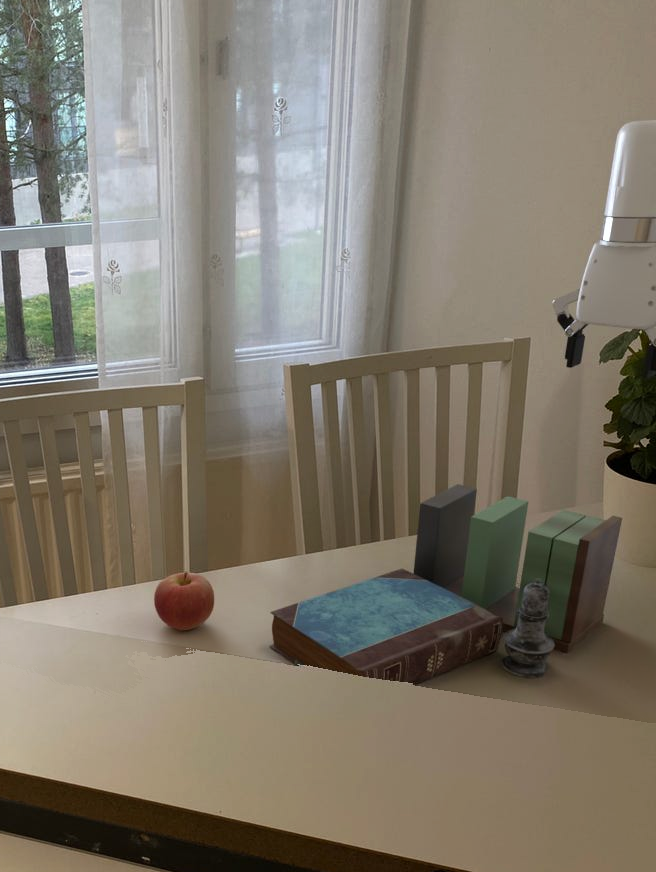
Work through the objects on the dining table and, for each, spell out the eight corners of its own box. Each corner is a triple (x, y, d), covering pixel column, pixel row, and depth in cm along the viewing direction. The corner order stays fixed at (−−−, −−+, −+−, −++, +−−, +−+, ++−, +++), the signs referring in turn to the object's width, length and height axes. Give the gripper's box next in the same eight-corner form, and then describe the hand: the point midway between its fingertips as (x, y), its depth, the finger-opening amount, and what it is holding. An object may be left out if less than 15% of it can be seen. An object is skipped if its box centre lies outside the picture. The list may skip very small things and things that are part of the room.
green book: (495, 582, 129) (507, 496, 124) (515, 588, 127) (528, 501, 122) (459, 606, 123) (471, 516, 117) (480, 613, 121) (492, 522, 115)
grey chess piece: (528, 650, 114) (543, 563, 109) (560, 673, 109) (577, 583, 104) (488, 658, 112) (501, 571, 107) (519, 682, 107) (534, 591, 102)
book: (362, 709, 103) (365, 672, 101) (267, 645, 117) (268, 611, 115) (499, 652, 114) (504, 617, 112) (398, 599, 127) (401, 567, 125)
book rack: (439, 570, 136) (450, 475, 129) (602, 622, 120) (624, 516, 114) (399, 595, 129) (408, 495, 122) (567, 653, 113) (587, 542, 107)
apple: (225, 631, 120) (225, 577, 117) (169, 644, 118) (167, 588, 114) (200, 606, 127) (199, 554, 124) (147, 617, 124) (145, 564, 121)
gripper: (721, 232, 109) (690, 375, 116) (577, 227, 120) (557, 357, 127) (700, 237, 104) (669, 386, 112) (552, 231, 115) (533, 367, 123)
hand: (609, 370), depth 119 cm, fingers open, 9 cm apart
